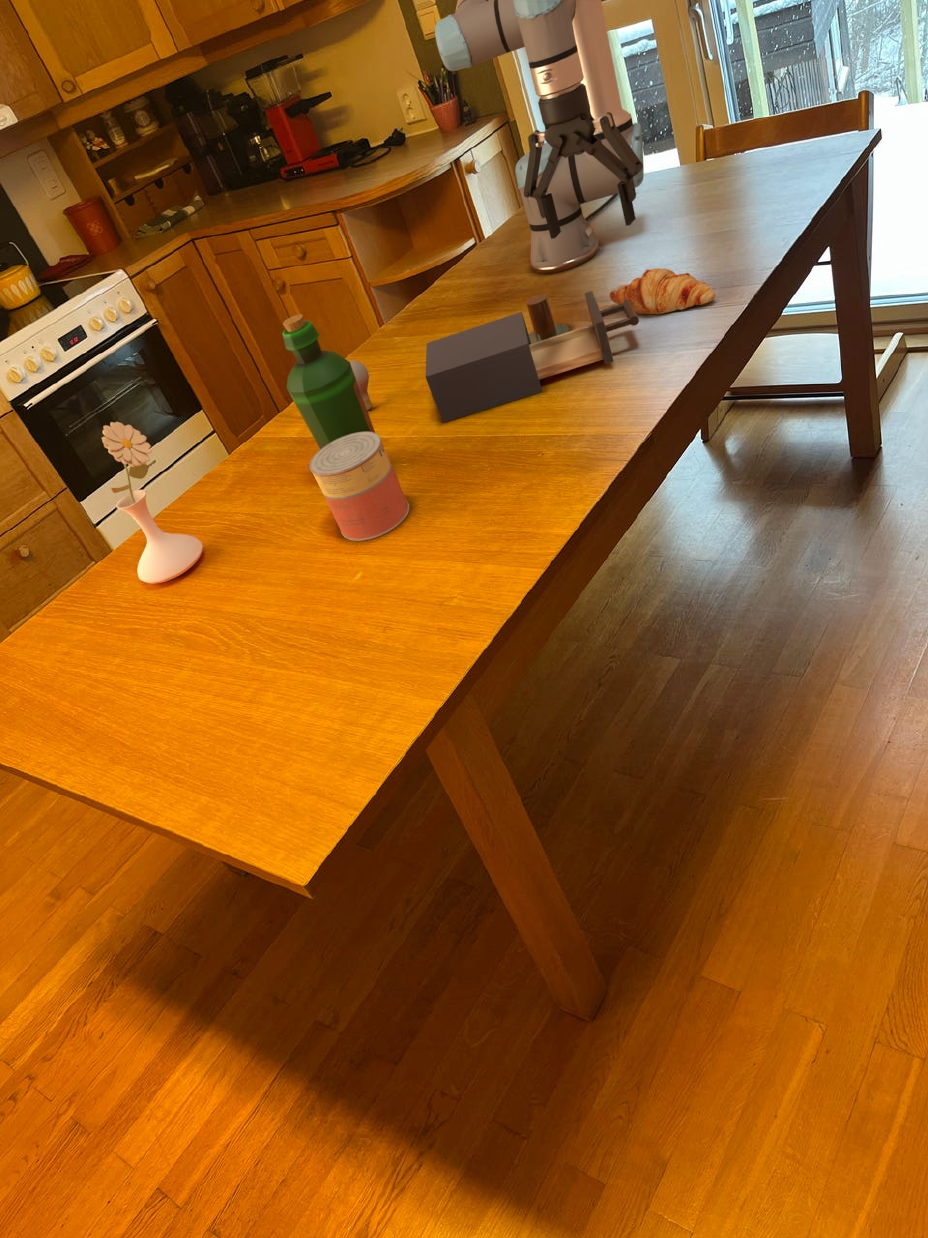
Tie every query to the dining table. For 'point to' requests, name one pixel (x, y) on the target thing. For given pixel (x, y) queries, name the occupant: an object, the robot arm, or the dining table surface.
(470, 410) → the cabinet
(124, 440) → the flower in vase
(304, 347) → the bottle
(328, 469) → the canned food
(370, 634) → the dining table surface
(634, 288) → the croissant
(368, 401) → the light bulb
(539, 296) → the lid
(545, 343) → the drawer
